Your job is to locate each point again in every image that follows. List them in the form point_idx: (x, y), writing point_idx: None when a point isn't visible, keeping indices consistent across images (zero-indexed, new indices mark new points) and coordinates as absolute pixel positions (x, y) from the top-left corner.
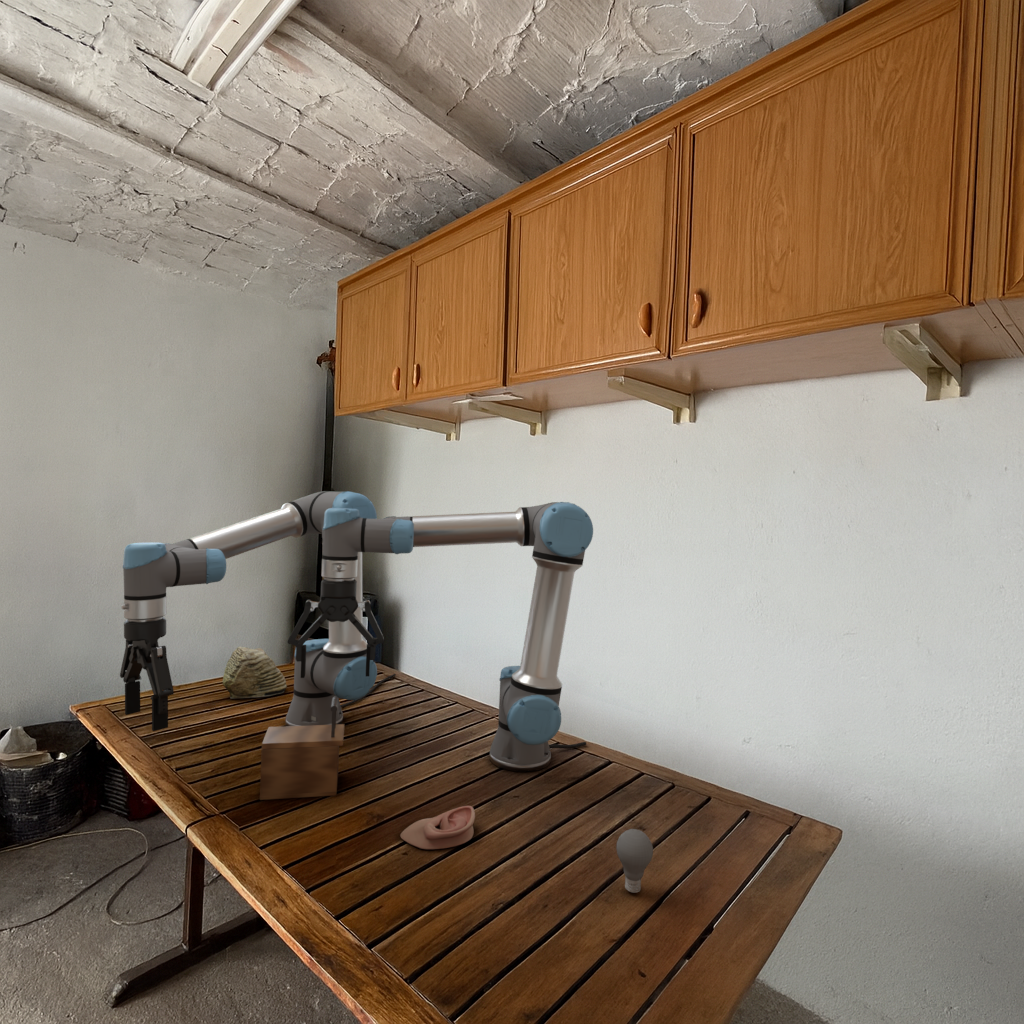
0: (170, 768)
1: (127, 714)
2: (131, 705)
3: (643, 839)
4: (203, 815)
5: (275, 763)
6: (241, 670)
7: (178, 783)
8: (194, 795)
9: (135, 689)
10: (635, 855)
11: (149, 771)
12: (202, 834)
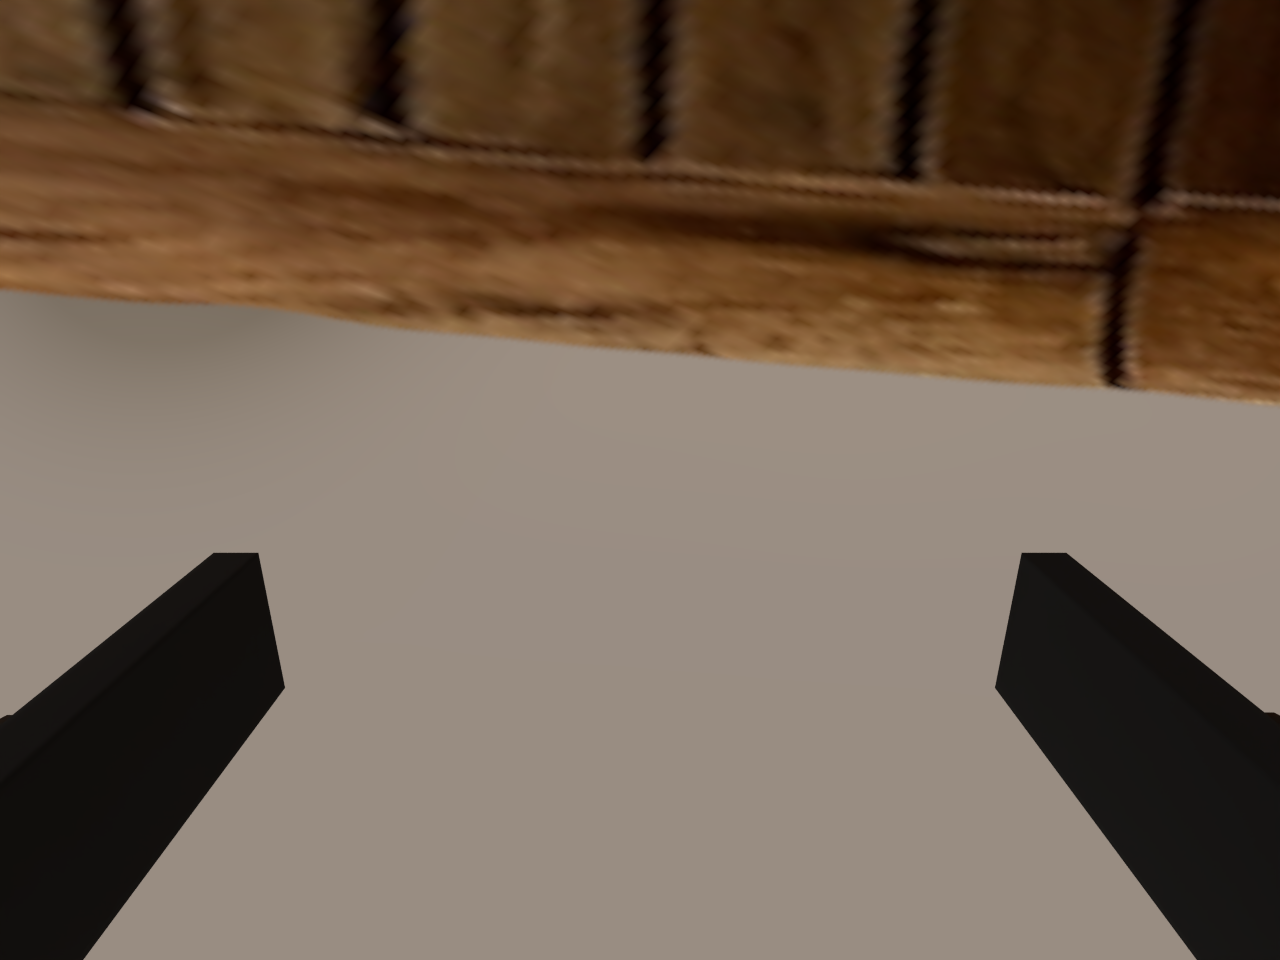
0: (343, 141)
1: (282, 680)
2: (225, 705)
3: None
4: (1084, 284)
5: None
6: None
7: (605, 205)
8: (830, 209)
9: (53, 833)
10: None
11: (311, 260)
12: (1245, 376)
